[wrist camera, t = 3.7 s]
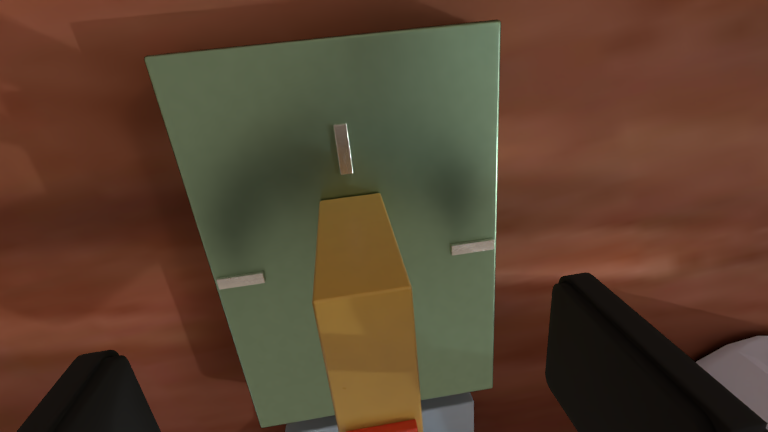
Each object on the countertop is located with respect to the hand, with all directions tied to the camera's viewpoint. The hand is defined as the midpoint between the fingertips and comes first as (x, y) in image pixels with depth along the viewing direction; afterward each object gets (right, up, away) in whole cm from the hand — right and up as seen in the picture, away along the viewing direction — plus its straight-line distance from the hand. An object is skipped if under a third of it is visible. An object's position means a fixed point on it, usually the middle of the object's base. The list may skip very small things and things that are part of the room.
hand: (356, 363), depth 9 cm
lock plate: (0, +3, +6) cm, 6 cm away
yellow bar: (0, +2, +4) cm, 4 cm away
